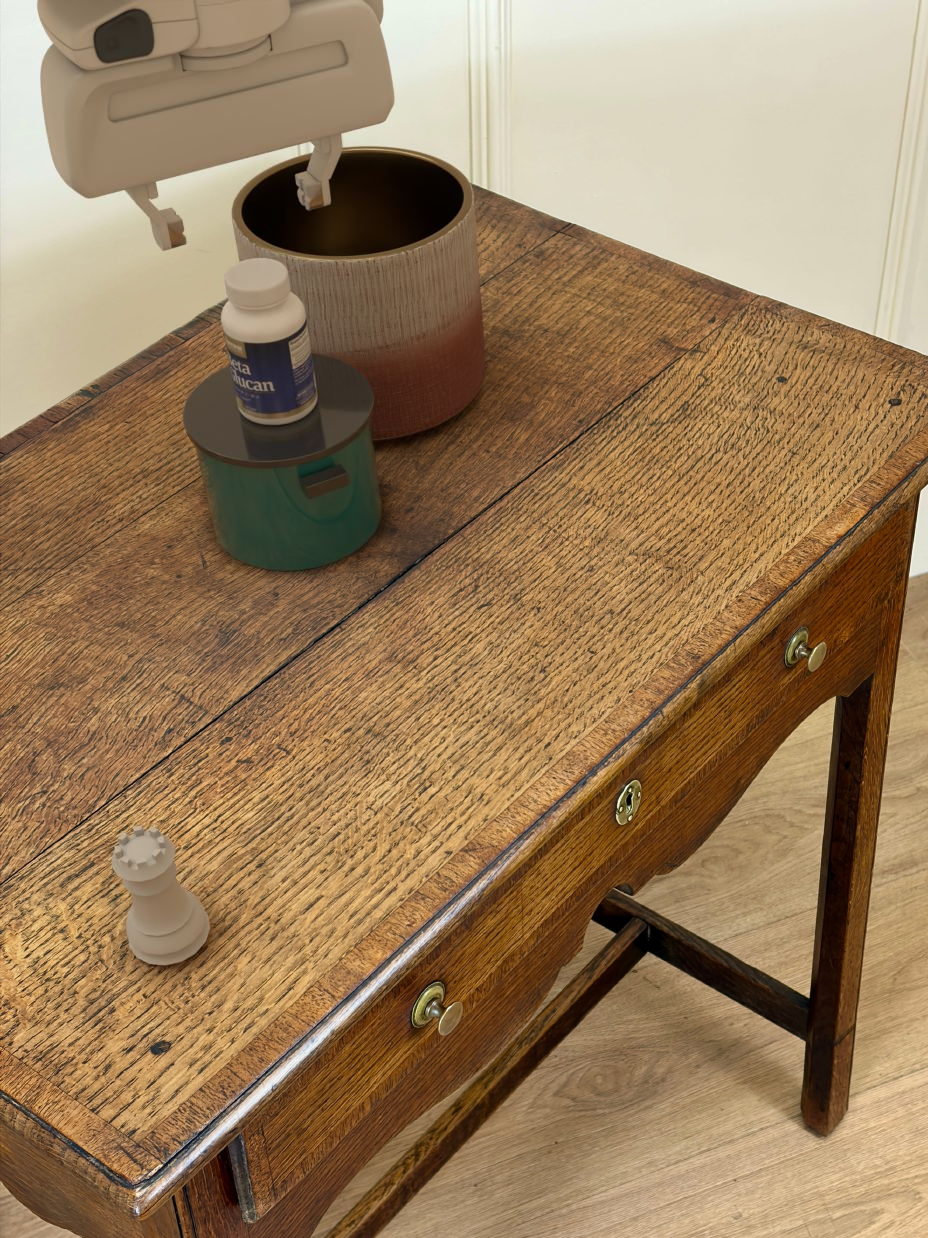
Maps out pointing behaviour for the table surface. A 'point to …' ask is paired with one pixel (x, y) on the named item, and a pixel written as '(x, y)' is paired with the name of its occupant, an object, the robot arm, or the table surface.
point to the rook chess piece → (158, 900)
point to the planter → (381, 275)
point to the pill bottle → (267, 343)
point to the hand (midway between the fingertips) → (244, 223)
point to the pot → (289, 471)
